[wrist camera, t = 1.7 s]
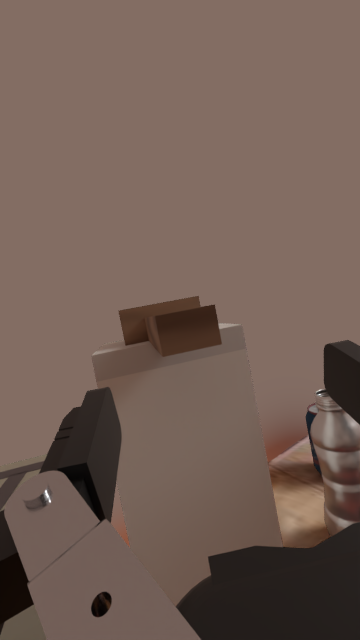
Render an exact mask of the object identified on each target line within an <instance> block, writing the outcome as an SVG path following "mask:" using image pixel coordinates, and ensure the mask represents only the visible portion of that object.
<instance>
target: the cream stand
mask: <svg viewBox="0 0 360 640" xmlns="http://www.w3.org/2000/svg"><path fill="white" fill-rule="evenodd" d="M218 325H219V330H220V336H221V341H222V344H221V345H216V346H212V347H207V348H203V349H198V350H193V351H189V352H184V353H180V354H175V355H170V356H166V357H162V356H161V354H160V353H159V352H158V351H157V350H156V349H155V347H154V346H153V345H152V344H151V343H150V342H149V341H146V342H141V343H137V344H132V345H127V346H125V341H124V340H121V341H116V342H111V343H106V344H104V345H103V346H102V347H101V348H99V349H98V350H97V351H96V352H95V353H94V354H93V355H91V357H92V362H93V367H94V371H95V377H96V382H97V386H98V389H100V388H105V387H109V388H110V390H111V392H112V396H113V399H114V403H115V407H116V410H117V414H118V417H119V421H120V425H121V433H122V441H121V449H120V457H119V464H118V472H117V479H116V480H117V485H118V490H119V495H120V500H121V505H122V510H123V515H124V520H125V525H126V530H127V535H128V539H129V545H130V549H131V550H132V552H133V553H134V554H135V555H136V557H137V558H138V559H139V561H140V562H141V563H142V564H143V566H144V567H145V568H146V569H147V571H148V572H149V573H150V575H151V576H152V577H153V578H154V580H155V581H156V582H157V584H158V585H159V586H160V587H161V589H162V590H163V591H164V593H165V594H166V595H167V596H168V598H169V599H170V600H171V602H172V603H173V604H174V605H175V607H176V605H177V604H178V603H179V601H180V600H181V599H182V598H183V597H184V596H185V595H186V594H187V593H188V592H189V591H190V590H191V589H192V588H193V587H194V586H196V585H197V584H198V583H199V582H201V581H202V580H204V579H205V578H207V577H208V576H210V575H211V572H210V566H209V561H208V556H213V555H217V554H221V553H226V552H230V551H235V550H239V549H243V548H248V547H252V546H271V547H283V543H282V537H281V532H280V527H279V521H278V516H277V510H276V505H275V500H274V494H273V489H272V484H271V478H270V473H269V467H268V462H267V457H266V451H265V446H264V441H263V435H262V430H261V425H260V419H259V413H258V408H257V403H256V398H255V392H254V386H253V381H252V376H251V371H250V365H249V360H248V355H247V349H246V344H245V338H244V333H243V327H242V324H218Z"/></svg>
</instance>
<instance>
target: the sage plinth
mask: <svg viewBox="0 0 360 640" xmlns="http://www.w3.org/2000/svg"><path fill="white" fill-rule="evenodd" d="M46 456H47V454H46V455H42V456H38V457H35V458H30V459H26V460H23V461H19V462H15V463H11V464H7V465H3V466H0V511H2V510H4V509H5V506H6V503H7V501H8V499H9V498H10V496H11V495H12V494H13V492H14V491H15V490H16V489H17V488H18V487H19V486H20V485H22V484H23V483H24V482H25V481H27V480H28V479H30V478H32V477H33V476H36V475H38V474H39V472H40V470H41V467H42V465H43V463H44V461H45V458H46ZM0 640H47V639H46V636H45V633H44V630H43V627H42V625H41V622H40V619H39V616H38V614H37V611H36V608H35V605H32V606H31V607H29V608H27V609H26V610H24V611H22V612H21V613H19V614H17V615H15V616H14V617H12V618H10V619H9V620H7V621H5V622H4V625H3V629H2V632H1V635H0Z"/></svg>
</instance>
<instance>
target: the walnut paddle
mask: <svg viewBox="0 0 360 640" xmlns="http://www.w3.org/2000/svg"><path fill="white" fill-rule="evenodd" d="M119 315H120V320H121V325H122V330H123V335H124V341H125V346H127V345H132V344H137V343H141V342H146V341H149V342H150V343H151V344H152V345H153V346H154V347H155V349H156V350H157V351H158V352H159V353H160V354H161V356H162V357H166V356H170V355H175V354H180V353H184V352H189V351H193V350H198V349H203V348H207V347H212V346H216V345H221V344H222V341H221V336H220V330H219V325H218V320H217V314H216V309H215V305H210V306H204V307H200V302H199V296H196V297H190V298H186V299H179V300H174V301H169V302H163V303H158V304H152V305H147V306H142V307H136V308H131V309H126V310H120V311H119Z"/></svg>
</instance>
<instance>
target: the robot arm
mask: <svg viewBox="0 0 360 640" xmlns="http://www.w3.org/2000/svg"><path fill="white" fill-rule="evenodd" d="M324 384H325V388H326V391H327V393H328V395H329V396H330V398H331V399H332V400H333V401H335V402H336V403H337V404H338V405H339V406H340V407H341V408H342V409H343V410H344V411H345V412H346V413H347V414H348V415H350V416H351V417H352V418H353V419H354V420H355V421H356V422H357V423H358V424H359V425H360V346H358V345H357V344H355V343H353V342H351V341H349V340H345V341H340V342H335V343H330V344H327V345H325V348H324ZM121 441H122V433H121V425H120V421H119V417H118V414H117V410H116V407H115V403H114V399H113V396H112V392H111V390H110V388H109V387H105V388H100V389H95V390H90V391H87V393H86V395H85V398H84V400H83V403H82V406H81V407H76V408H73V409H72V410H71V412H69V414H68V415H67V416H66V417H65V418H64V419H63V421H62V423H61V425H60V428H59V432H57V434H56V437H55V441H53V443H52V445H51V447H50V450H49V452H48V454H47V456H46V458H45V461H44V463H43V465H42V467H41V470H40V472H39V474H38V475H36V476H33V477H32V478H30V479H28V480H27V481H25V482H24V483H23V484H22V485H20V486H19V487H18V488H17V489H16V490H15V491H14V492H13V494H12V495H11V496H10V498H9V499H8V501H7V503H6V506H5V509H4V510H2V511H0V635H1V632H2V629H3V625H4V622H5V621H7V620H9V619H10V618H12V617H14V616H15V615H17V614H19V613H21V612H22V611H24V610H26V609H27V608H29V607H31V606H32V605H35V608H36V611H37V614H38V616H39V619H40V622H41V625H42V627H43V630H44V633H45V636H46V639H47V640H360V522H357V523H353V524H351V525H350V526H348V527H346V528H345V529H343V530H341V531H340V532H338V533H337V534H335V535H333V536H332V537H330V538H328V539H327V540H325V541H323V542H322V543H320V544H319V545H317V546H315V547H313V548H289V547H271V546H252V547H248V548H243V549H239V550H235V551H230V552H226V553H221V554H217V555H213V556H208V561H209V566H210V572H211V575H210V576H208V577H207V578H205V579H204V580H202V581H201V582H199V583H198V584H197V585H196V586H194V587H193V588H192V589H191V590H190V591H189V592H188V593H187V594H186V595H185V596H184V597H183V598H182V599H181V600H180V601H179V603H178V604H177V605H176V607H175V605H174V604H173V603H172V602H171V600H170V599H169V598H168V596H167V595H166V594H165V593H164V591H163V590H162V589H161V587H160V586H159V585H158V584H157V582H156V581H155V580H154V578H153V577H152V576H151V575H150V573H149V572H148V571H147V569H146V568H145V567H144V566H143V564H142V563H141V562H140V561H139V559H138V558H137V557H136V555H135V554H134V553H133V552H132V550H131V549H130V548H129V546H128V545H127V544H126V543H125V542H124V540H123V539H122V538H121V536H120V535H119V534H118V532H117V531H116V530H115V528H114V527H113V526H112V525H111V517H112V509H113V501H114V493H115V487H116V479H117V472H118V464H119V457H120V449H121Z"/></svg>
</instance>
